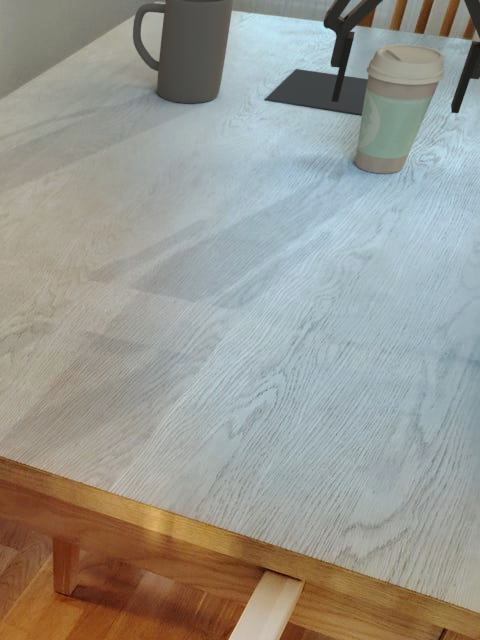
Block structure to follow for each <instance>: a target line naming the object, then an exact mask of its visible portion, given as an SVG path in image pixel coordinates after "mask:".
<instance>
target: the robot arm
mask: <svg viewBox="0 0 480 640" xmlns="http://www.w3.org/2000/svg"><path fill="white" fill-rule="evenodd" d="M383 1H384V0H361V1H359V3H358V4H357V5H355V7H353V8H352V9H351V10H350V11H349V12H348V13H347V14H346V15H345V16H344V17H343V16H341V15H342V14H343V12H344V11H345V9H346V7H347V6H349V3H350V2H351V0H334V1H333V2H332V4H331V6H330V7H329V9H328V10H327V11H326V13H325V15H324V18H323V27H324V28H325V29H327V30H331V31H333V32H334V34H335V41H334V46H333V50H332V53H331V57H330V67H331V68H338V70H337V74H336V75H337V79H336V83H335V87H334V91H333V96H332V102H338V100H339V96H340V92H341V88H342V84H343V80H344V76H346V71H347V68H348V63H349V59H350V55H351V52H352V51H351V50H352V47H353V42H354V39H355V31H352V30H354V29H355V28H356V27H357V26H358V25H359V24H360V23H361V22H362V21H363V20H365V18H366V17H367V16H368V15H369V14H370V13H372V12H373V10H375V8H377V7H378V6H379V5H380V4H381V3H382V2H383ZM463 1H464V4H465V6H466V9H467V12H468V14H469V16H470V18H471V21H472V23H473V26H474V28H475V31H476V33H477V35H478V39H480V0H463ZM462 68H463V69H462V71H461V74H460V76H459V80H458V83H457V86H456V89H455V92H454V95H453V98H452V101H451V103H450V111H451V113H452V114H459V113H460V110H461V107H462V104H463V101H464V99H465V95H466V92H467V89H468V86H469V83H470V80H479V79H480V40H472V41H471V44H470V46H469V49H468V53H467V56H466V59H465V62H464V64H463V67H462Z"/></svg>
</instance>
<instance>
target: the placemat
mask: <svg viewBox="0 0 480 640" xmlns="http://www.w3.org/2000/svg"><path fill="white" fill-rule="evenodd" d="M337 75H338V74H336V73H335V74H334V73H327V72H320V71H313V70H306V69H299V68H295V69H294V70H293V71H292V72H291V73H290V74H289V75H288V76H287V77H286V78H285V79H284V80H283V81H282V82H281V83H280V84H279V85H277V87H276V88H275V89H273V90H272V91H271V92H270V93H269V94H268V95H267V96H266V97H265V98H264V101H268V102H275V103H282V104H287V105H295V106H301V107H307V108H313V109H319V110H326V111H332V112H333V111H334V112H340V113H346V114H350V115H351V114H352V115H356V116H357V115H358V116H362V112H363V106H364V99H365V93H366V87H367V81H368V78H362V77H355V76H348V75H344V80H343V84H342V88H341V92H340V96H339V100H338V102H332V96H333V91H334V87H335V83H336V79H337Z"/></svg>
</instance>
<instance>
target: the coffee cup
mask: <svg viewBox="0 0 480 640" xmlns="http://www.w3.org/2000/svg"><path fill="white" fill-rule="evenodd" d="M445 70H446V68H445V54H444V53H443V52H442V51H441V50H438V49H436V48H433V47H430V46H426V45H420V44H410V43H394V44H393V43H392V44H386V45H382V46H381V47H379V48H377V50H376V51H375V53H374V54H373V57H372V59H370V61H369V62H368V67H366V73H367V74H368V75H367V79H368V81H367V87H366V93H365V99H364V106H363V112H362V115H361V118H360V124H359V125H360V126H359V131H358V139H357V143H356V152H355V156H354V157H355V158H354V164H355V166H356V167H357V168H359V169H360V170H362V171H365V172H368V173H373V174H384V175H385V174H386V175H387V174H395V173H398V172H400V171H402V169H404V167H405V165H406V161H407V159H408V157H409V156H410V155H409V154H410V152H411V150H412V147H413V145H414V143H415V140H416V138H417V136H418V133H419V131H420V128H421V126H422V124H423V121H424V119H425V116H426V115H427V112H428V110H429V107H430V104H431V102H432V100H433V97H434V95H435V93H436V90H437V88H438V86H439V83H440V82H441V80H443V79H444V77H445V74H444V73H445Z"/></svg>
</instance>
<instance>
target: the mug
mask: <svg viewBox="0 0 480 640" xmlns="http://www.w3.org/2000/svg"><path fill="white" fill-rule="evenodd" d="M233 4H234V0H165V3H155V2H152V3H145V4H142V5H141V6H139V8H138V9H137V11H136V13H135V16H134V19H133V24H132V25H133V26H132V41H133V45H134V48H135V50H136V51H137V54H138V55H139V56H140V58H141V59H142V61H143V62H144V63H145V65H147V66H148V67H149V68H150V69H152V70H154V71H155V72H157V80H156V81H157V82H156V83H157V84H156V91H157V94H158V96H160V97H161V98H162V99H164V100H167V101H169V102H173V103H180V104H199V103H201V104H202V103H205V102H211V101H212V100H214V99H216V98H217V97H218V96H219V93H220V91H221V85H222V78H223V72H224V68H225V67H224V66H225V60H226V55H227V54H226V53H227V47H228V40H229V33H230V27H231V19H232V12H233ZM147 13H157V14H163V20H162V28H161V36H160V37H161V39H160V48H159V56H158V57H159V59H158V60H156V59H155V58H154V57H153V56H151V54H150V53H149V51H148V50H147V48H146V47H145V45H144V43H143V41H142V25H143V19H144V16H145V15H146V14H147Z"/></svg>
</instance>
